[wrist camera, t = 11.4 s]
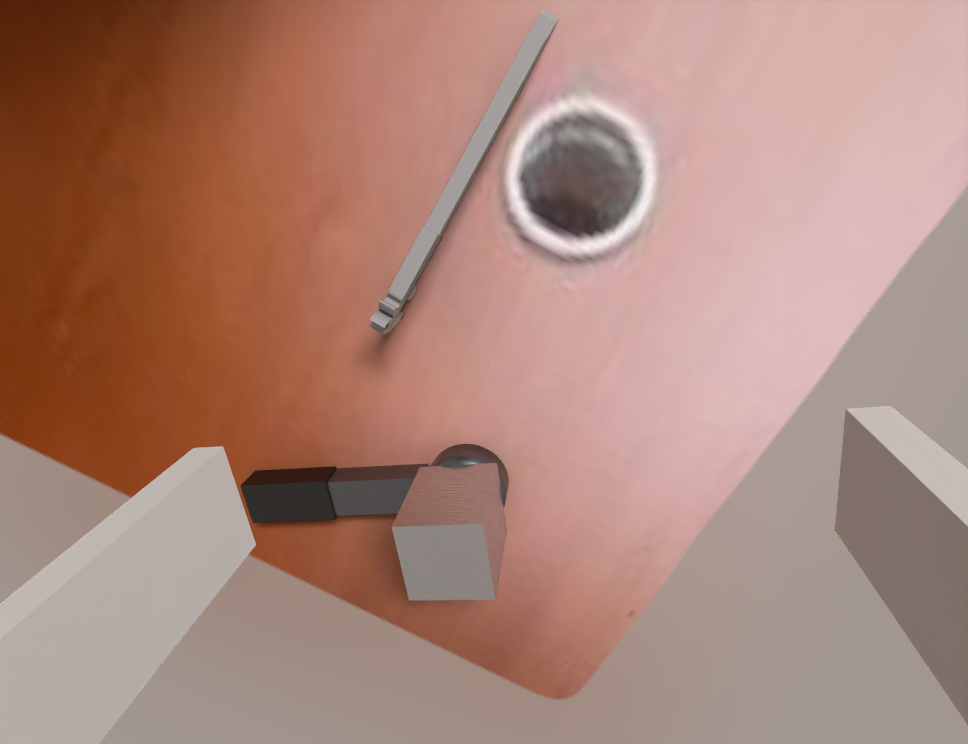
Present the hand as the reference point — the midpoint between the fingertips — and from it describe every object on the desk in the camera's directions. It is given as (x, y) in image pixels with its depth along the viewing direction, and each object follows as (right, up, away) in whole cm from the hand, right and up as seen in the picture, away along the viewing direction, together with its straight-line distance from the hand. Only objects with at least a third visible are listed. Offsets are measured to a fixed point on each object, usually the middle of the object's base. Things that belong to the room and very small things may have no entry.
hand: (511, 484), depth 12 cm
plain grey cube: (-2, -7, +29) cm, 30 cm away
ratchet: (-9, -6, +33) cm, 34 cm away
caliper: (-2, +14, +24) cm, 28 cm away
